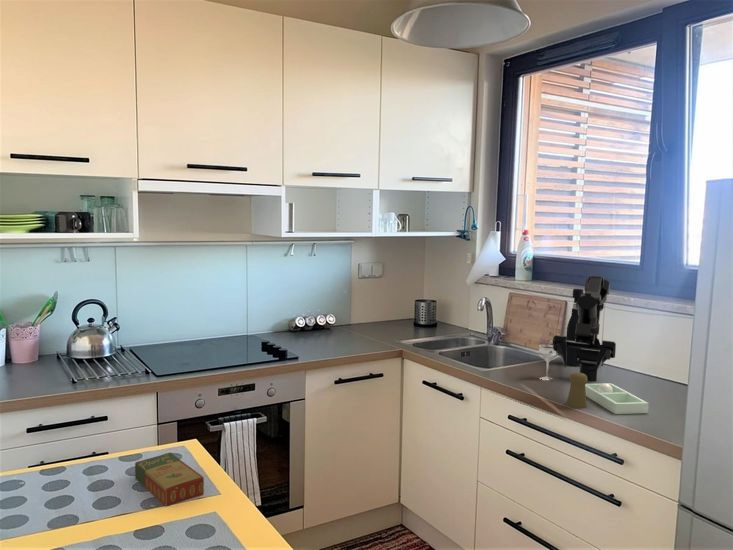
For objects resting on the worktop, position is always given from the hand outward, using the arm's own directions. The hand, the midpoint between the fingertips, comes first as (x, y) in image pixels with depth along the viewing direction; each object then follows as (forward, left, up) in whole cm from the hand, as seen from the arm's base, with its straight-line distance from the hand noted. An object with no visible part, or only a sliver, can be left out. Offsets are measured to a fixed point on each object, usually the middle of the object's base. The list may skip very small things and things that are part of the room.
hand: (580, 368), depth 185 cm
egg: (-3, +10, -10) cm, 15 cm away
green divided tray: (+2, +10, -11) cm, 15 cm away
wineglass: (-27, +2, -11) cm, 30 cm away
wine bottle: (-46, +22, -11) cm, 53 cm away
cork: (+4, -3, -11) cm, 12 cm away
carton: (+45, -116, -12) cm, 125 cm away
